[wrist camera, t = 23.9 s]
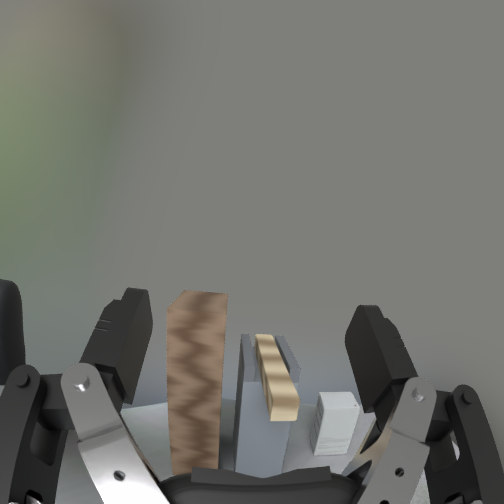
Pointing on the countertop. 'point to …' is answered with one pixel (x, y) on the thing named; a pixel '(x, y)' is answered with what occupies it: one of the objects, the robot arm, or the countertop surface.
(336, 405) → the supplement box
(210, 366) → the walnut pedestal
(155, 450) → the countertop surface
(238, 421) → the slate grooved rack
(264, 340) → the birch bar
